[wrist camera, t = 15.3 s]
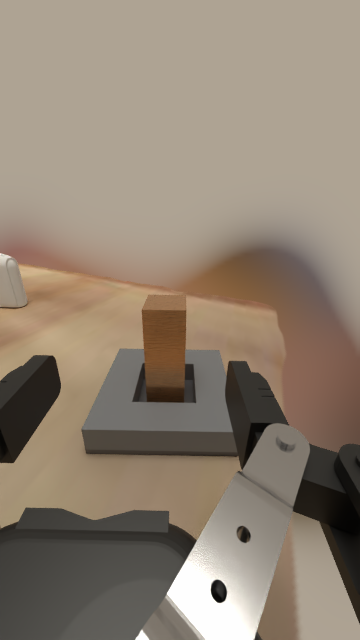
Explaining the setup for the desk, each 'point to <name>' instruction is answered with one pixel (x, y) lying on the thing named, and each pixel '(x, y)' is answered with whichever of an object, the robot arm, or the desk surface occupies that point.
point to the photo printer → (11, 283)
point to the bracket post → (164, 347)
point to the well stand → (161, 411)
